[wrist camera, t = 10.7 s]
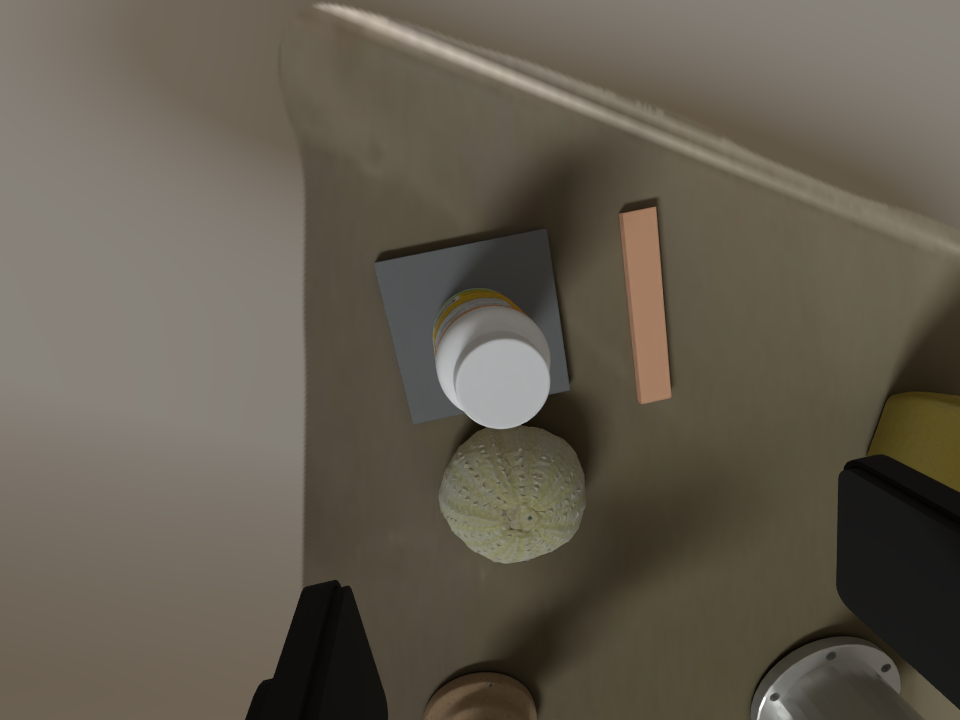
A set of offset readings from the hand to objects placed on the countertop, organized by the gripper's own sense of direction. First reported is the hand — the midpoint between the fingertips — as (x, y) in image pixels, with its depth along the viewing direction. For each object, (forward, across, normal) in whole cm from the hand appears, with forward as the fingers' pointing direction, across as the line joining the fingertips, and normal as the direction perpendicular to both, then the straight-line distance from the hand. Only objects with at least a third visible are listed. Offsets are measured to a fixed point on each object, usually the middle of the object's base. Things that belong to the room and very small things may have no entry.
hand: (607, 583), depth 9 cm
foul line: (+22, -10, +1) cm, 24 cm away
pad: (+22, 0, 0) cm, 22 cm away
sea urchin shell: (+22, 0, +10) cm, 25 cm away
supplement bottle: (+22, 0, 0) cm, 22 cm away
